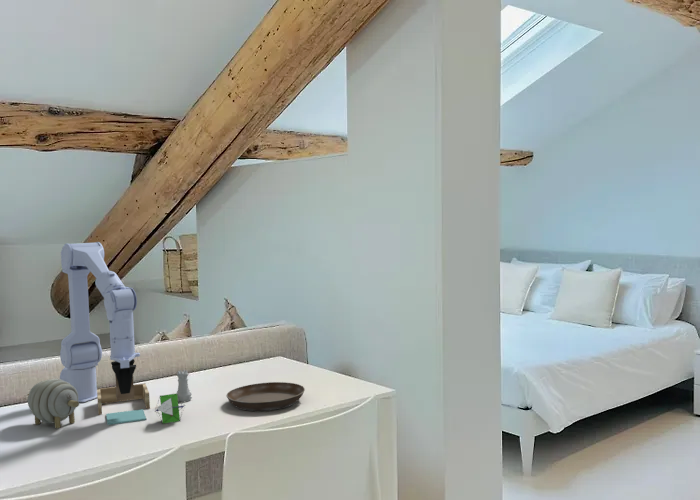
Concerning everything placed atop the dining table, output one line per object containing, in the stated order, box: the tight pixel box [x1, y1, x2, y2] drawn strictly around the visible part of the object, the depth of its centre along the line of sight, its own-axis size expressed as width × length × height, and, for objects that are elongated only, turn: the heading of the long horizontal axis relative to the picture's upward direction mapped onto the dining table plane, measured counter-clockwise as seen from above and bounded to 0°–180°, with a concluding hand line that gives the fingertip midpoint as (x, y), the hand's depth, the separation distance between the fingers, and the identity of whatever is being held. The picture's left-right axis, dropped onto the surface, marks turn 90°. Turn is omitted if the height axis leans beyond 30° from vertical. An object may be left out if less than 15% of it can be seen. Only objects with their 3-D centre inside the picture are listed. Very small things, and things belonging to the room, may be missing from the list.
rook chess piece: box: [176, 369, 193, 403], centre depth 184 cm, size 4×4×8 cm
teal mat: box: [105, 408, 147, 426], centre depth 169 cm, size 9×9×1 cm
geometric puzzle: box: [154, 392, 186, 425], centre depth 165 cm, size 7×7×8 cm
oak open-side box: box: [96, 383, 151, 416], centre depth 180 cm, size 12×13×4 cm
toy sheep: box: [26, 378, 80, 429], centre depth 165 cm, size 11×17×11 cm, turn 65°
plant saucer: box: [226, 381, 306, 412], centre depth 180 cm, size 21×21×3 cm
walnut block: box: [114, 374, 134, 401], centre depth 169 cm, size 4×4×6 cm
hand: (124, 391), depth 169 cm, fingers closed on walnut block, 4 cm apart
